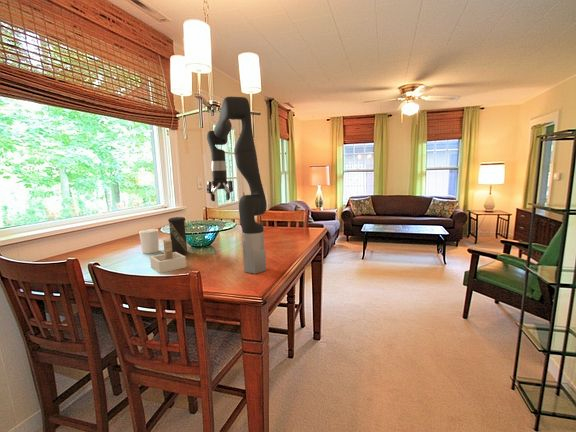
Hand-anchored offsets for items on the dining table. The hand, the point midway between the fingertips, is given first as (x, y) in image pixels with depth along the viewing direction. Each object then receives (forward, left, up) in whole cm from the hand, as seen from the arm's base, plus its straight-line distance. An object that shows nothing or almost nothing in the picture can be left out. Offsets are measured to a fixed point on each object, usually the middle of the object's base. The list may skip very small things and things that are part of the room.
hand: (220, 200), depth 160 cm
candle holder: (+30, +29, -28) cm, 50 cm away
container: (+14, +19, -28) cm, 37 cm away
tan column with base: (-7, +32, -27) cm, 42 cm away
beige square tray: (-6, +32, -28) cm, 43 cm away
